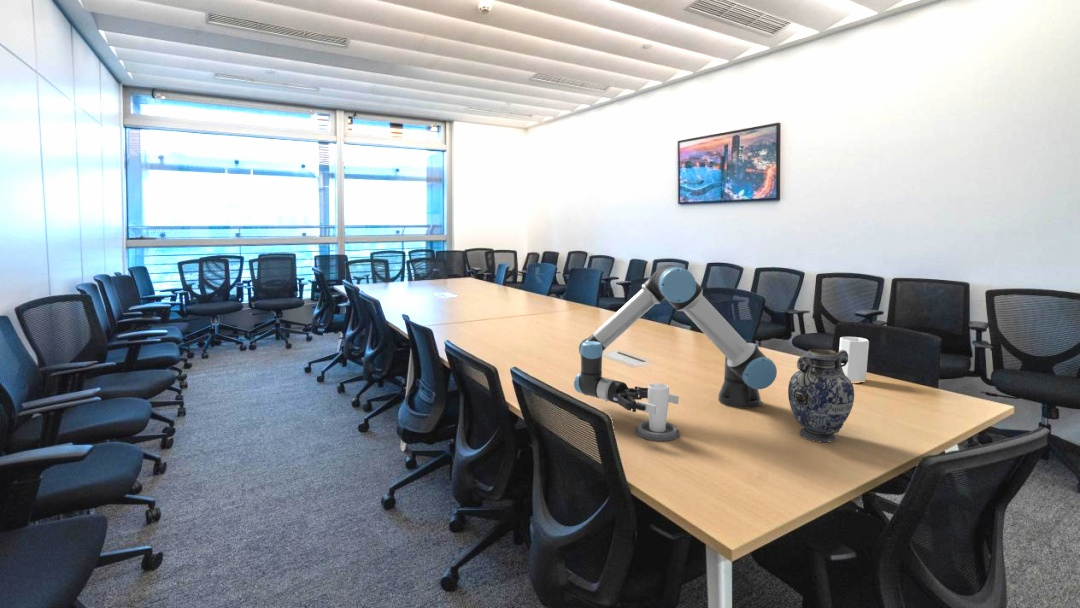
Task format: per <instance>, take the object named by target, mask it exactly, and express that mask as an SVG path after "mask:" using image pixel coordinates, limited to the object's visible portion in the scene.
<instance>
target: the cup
mask: <svg viewBox="0 0 1080 608" xmlns="http://www.w3.org/2000/svg"><path fill="white" fill-rule="evenodd" d="M838 346H839V347H838V349H839V350H838V352H839V351H840V350H844V351H847V354H848V362H847V364H846V365H845V366H843V367H842V369H843V372H844V374H845V376H847V377H848V379H849V380H850V381H865V380H867V372H868V371H867V370H868V359H869V358H868V357H869V348H870V341H869V340H868V339H867V338H864V337H857V336H841V337H840V338H839V345H838ZM844 364H845V363H844ZM841 365H843V364H842V363H841Z"/></svg>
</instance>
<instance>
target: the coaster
mask: <svg viewBox="0 0 1080 608" xmlns="http://www.w3.org/2000/svg"><path fill="white" fill-rule="evenodd" d="M635 434H636V435H637V436H638V437H639V438H641V439H644V440H647V441H653V442H671V440H672V441H675V440H676V439H679V437H680V431H679V429H678V427H677V426H676V425H674V424H673V423H670V422H668V421H666V430H665V431H664V432H662V433H656V432H652V431H650V429H649V420H644V421H641V422H639V423H638V425H637V426H636V427H635Z"/></svg>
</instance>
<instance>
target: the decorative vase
mask: <svg viewBox="0 0 1080 608" xmlns="http://www.w3.org/2000/svg"><path fill="white" fill-rule="evenodd" d="M847 362H848V354H847V351H844V350H840V351H839V350H838V352H837V351H836V350H832V349H826V348H825V349H824V348H812V349H811V348H810V349H809V350H808V352H806V353H805V355H802V356H800V357H798V359H797V361H796V367H797V369H798V370H797V371H796V372H794V373H793V375H792V376H791V377H790V379H789V382H788V388H787V393H788V394H787V395H788V396H787V397H788V402H789V403H788V404H789V406H790V410H791V412H792V415H793V417H794V418H795V420H796V421H797V423H798V424H799V425H800V426H802V428H800V430H799V432H798V435H799V436H800V435H801V436H800V437H802V438H803V437H804V438H803V439H805V438H807V439H806V440H808V439H810V440H809V441H811V440H815V441H814V442H816V441H821V442H820V443H825V442H826V443H829V442H828V441H833V442H835V441H836V440H837V436H836V434H838V433H839V432H840V430H841V429H842V427H843V426H844V423H845V422H846V420H848V418H849V416H850V414H851V412H852V409H853V406H854V402H855V401H854V400H855V389H854V385H853V383H851V381H850V380H849V379H848V377H847V376H845V374H844V372H843V369H842V367H843V366H845V365H846V364H847ZM841 363H842V364H843V365H841ZM844 363H845V364H844ZM835 439H836V440H835ZM834 440H835V441H834Z"/></svg>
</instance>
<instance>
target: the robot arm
mask: <svg viewBox="0 0 1080 608" xmlns="http://www.w3.org/2000/svg"><path fill="white" fill-rule="evenodd" d="M665 300H666V301H667V302H668V303H669V305H671V306H672V307H673V308H674V309H675V310H676V311H677V312H684V314H685V315H686V316H687V317H688V318H689V319H690V321H692V322H693V323H694V324H695V325H696V326H697V328H698V329H699V330H700V331H701V332H702V333H703V334H704V335H705V336H706V337H707V338H708V340H710V342H712V344H713V345H715V347H716V348H717V349H718V350H719V351H720V352H721V353H722V355H723V356H724V374H723V375H724V378H723V379H724V380H723V383H722V385H721V388H720V390H719V393H718V402H719V403H721V404H723V405H725V406H728V407H732V408H740V409H752V408H758V407H759V406H760V405H761V400H762V399H761V396H760V392H759V390H764V389H766V388H768V387H770V386H772V384H773V383H775V380H776V379H777V375H778V374H777V373H778V369H777V366H776V364H775V363H774V362H773V360H771V358H770V357H767V356H766V355H765V354H764V353H763V352H762V351H761V349H759V345H758V343H753V342H747V341H746V340H745V339H744V338H743V337H742V336H741V334H739V333H738V332H737V330H735V329H734V327H733V326H732V325H731V324H730V323H729V322H728V321H727V320H726V318H724V316H723V315H722V314H720V312H719V311H718V310H717V309H716V308H715V306H713V304H711V303H710V302H709V301H708V299H707V298H706V297H705V296H704V295H703V287H702V286H701V285H700V284H699V283H698V282H697V281H696V278H695V277H694V275H693V273H691V272H690V271H689V270H688V269H686V268H684V267H680V266H677V265H672V264H667V265H663V266H661V267H660V268H658V269H657V270H656V271H655V272H654V273H653V274H652V275H651V276H650V277H649V278H648V279H646V280H645V282H644V283H643V284H641V289H640V290H638V292H637V293H636V294H634V295H633V297H631V298H630V299H628V301H627V302H626V303H624V305H622V307H621V308H619V309H617V311H616V312H614V313H613V314H612V315H611V316H610V317H609V318H608V319H607V320H606V321H605V322H604V323H603V324H602V325H600V327H599V328H597V329H596V330H595V331H594V332H593V333H592V334H591V335H590V336H588V337H587V338H584V339H583V340H581V341H580V343H579V345H578V353H579V356H580V372H579V373H577V374H576V376H575V378H574V380H573V387H574V390H575V391H576V392H578V393H579V394H582V395H584V396H590V397H592V398H596V399H600V400H604V402H611V403H614V404H618V405H619V406H621V407H622V408H623V409H625V410H626V411H629V412H630V411H632V413H636V412H637V411H640V412H644V413H648V414H649V413H651V414H654V415H655V414H656V405H652V404H648V402H644V401H641V400H642V399H648V387H640V386H634V388H633V387H628V385H627V383H625V382H623V381H619V380H615V379H612V378H608V377H603V376H602V375H603V372H602V371H603V369H602V367H603V353H604V352H605V350H606V349H607V348H608V347H609V346H610V345H612V344H613V342H615V341H616V340H617V339H618V338H619V337H620V336H621V335H623V334H624V333H625V332H626V331H627V330H629V328H630V327H631V326H633V324H635V323H636V322H637V321H638V320H639V319H640V318H642V317H643V316H644V315H645V314H646V313H647V312H648V311H649V310H650V309H651V308H653V307H654V306H655V305H661V303H662V302H664V301H665ZM636 400H637V401H636ZM669 403H670V404H671V403H672V404H675V405H678V404H679V395H677V394H674V393H673V394H672V393H669Z"/></svg>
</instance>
